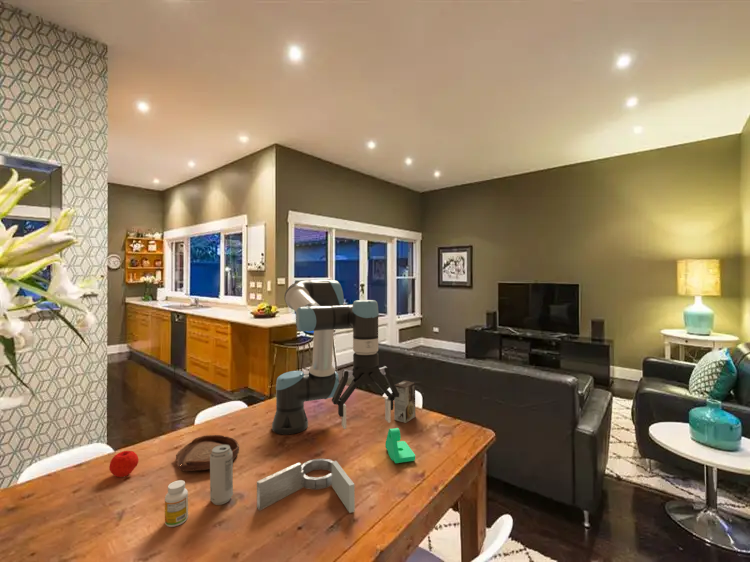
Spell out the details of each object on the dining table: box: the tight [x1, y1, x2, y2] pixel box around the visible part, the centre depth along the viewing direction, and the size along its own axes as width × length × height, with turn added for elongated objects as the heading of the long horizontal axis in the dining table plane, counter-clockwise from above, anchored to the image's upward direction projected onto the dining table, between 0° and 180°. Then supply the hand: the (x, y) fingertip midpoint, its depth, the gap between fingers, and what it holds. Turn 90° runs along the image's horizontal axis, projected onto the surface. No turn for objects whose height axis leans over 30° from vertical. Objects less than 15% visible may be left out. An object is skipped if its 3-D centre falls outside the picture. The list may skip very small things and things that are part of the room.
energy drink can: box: [209, 445, 234, 506], centre depth 102 cm, size 6×6×15 cm
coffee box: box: [393, 380, 417, 424], centre depth 161 cm, size 9×6×16 cm
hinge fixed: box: [256, 458, 334, 511], centre depth 108 cm, size 12×27×8 cm, turn 137°
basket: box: [175, 434, 240, 472], centre depth 126 cm, size 22×20×5 cm
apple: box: [108, 450, 140, 478], centre depth 116 cm, size 8×8×7 cm
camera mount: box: [384, 427, 416, 464], centre depth 127 cm, size 12×8×10 cm, turn 15°
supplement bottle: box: [164, 479, 189, 528], centre depth 93 cm, size 5×5×10 cm
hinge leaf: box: [331, 460, 356, 514], centre depth 102 cm, size 2×14×8 cm, turn 27°
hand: (366, 424), depth 104 cm, fingers open, 13 cm apart
